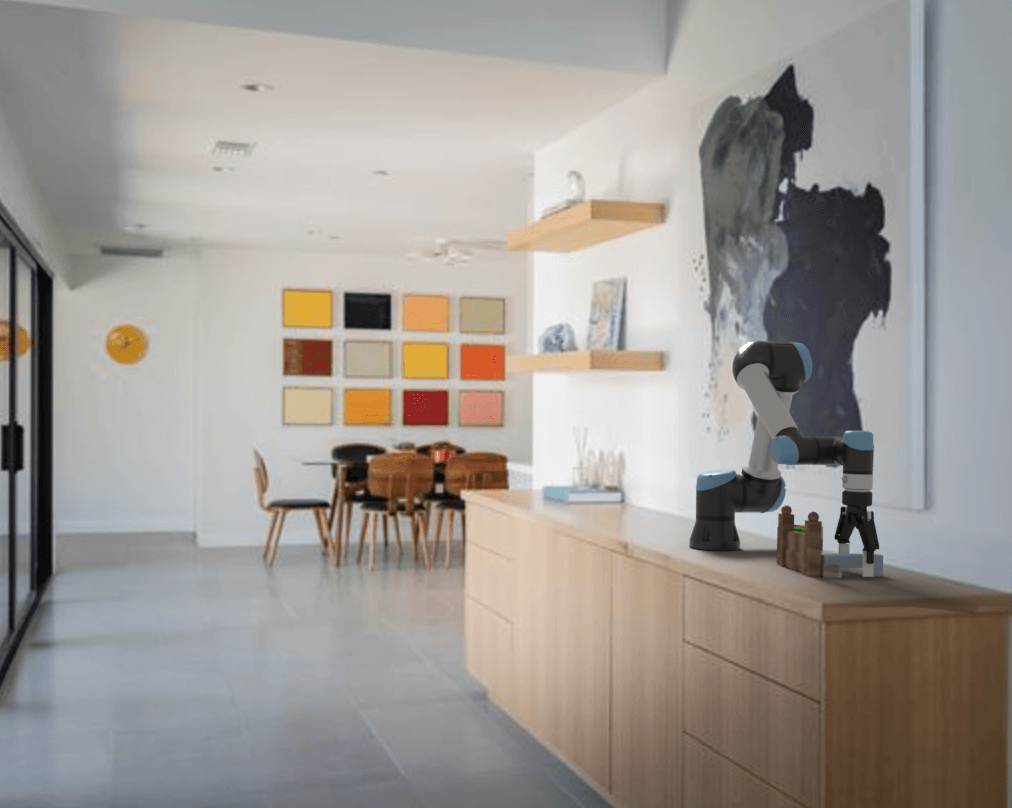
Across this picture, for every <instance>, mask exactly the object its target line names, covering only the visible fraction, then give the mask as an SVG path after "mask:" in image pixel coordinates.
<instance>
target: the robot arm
mask: <svg viewBox="0 0 1012 808" xmlns="http://www.w3.org/2000/svg"><path fill="white" fill-rule="evenodd" d="M812 360H813V359H812V356H811V353H810V351H809V349H808V348H807V346H806V345H804V344H803V343H802V342H801V343H800V342H794V341H789V340H788V341H775V340H773V341H768V340H767V341H766V340H765V341H764V340H752V341H750V342H747V343H746V344H744V345H743V346H741V347H740V348H739V350H737V352H736V354H735V355H734V358H733V361H732V370H731V371H732V376H733V378H734V380H735V382H736V384H737V386H738V387H739V389H741V390H742V391H745V393H746V395H747V396H748V399H749V400H750V401H751V404H752V406H753V407H754V409H755V411H756V413H757V415H758V416H757V420H756V425H755V430H754V436H753V439H752V440H753V441H752V445H751V450H750V454H749V461H748V462H745V464H743V466H742V468H741V473H740V474H739V473H737V471H736V470H735V469H732V468H731V469H715V470H708V471H702V472H701V473H699V474H698V475H697V477H696V485H695V522H694V526H693V529H692V531H691V534H690V536H689V541H688V542H689V543H688V544H689V547H690V548H692V549H697V550H705V551H736V550H737V551H738V550H740V549H741V539H740V536H739V533H738V529H737V525H736V513H739V514H740V513H741V514H742V513H751V514H752V513H753V514H755V513H757V514H758V513H759V514H764V513H772V512H776V511H777V510H779V509H780V507H781V506H782V505H783V503H784V500H785V497H786V489H787V488H786V486H787V485H786V481H785V479H784V478H783V476H782V472H781V471H780V470H779V468H778V466H779V465H786V466H811V465H812V466H841V467H842V477H841V481H842V488H843V489H844V490H843V491H841V503H842V505H843V506H840V510H839V518H838V522H837V525H836V529H835V533H834V540H836V542H837V543H838V554H850V548H851V546H850V544H851V541H850V538H851V536H852V534H853V532H854V529H857V530H858V533H859V536H860V539H861V542H862V546H863V548H862V554H863V564H862V568H861V570H862V571H861V572H862V574H861V577H865V578H866V577H868V578H870V577H872V578H873V577H875V576H874V554H875V551H877V550H879V549H880V543H879V538H878V534H877V533H878V532H877V527H876V522H875V516H874V515H875V512H874V511H873V510H871V511H870V510H869V511H868V507H871V506H872V505H873V493H872V490H873V488H874V487H873V486H874V484H873V483H874V474H873V473H874V472H873V471H874V453H875V452H874V451H875V445H874V444H875V443H874V433H873V432H872V431H869V430H845V431H844V432H843V436H837V435H836V436H835V435H833V436H832V435H828V436H808V435H807V436H804V434H803V433H802V431H801V430H800V429H799V427H798V426H797V424H796V422H795V420H794V419H793V416H792V415H791V413H790V409H791V405H792V400H793V395H795V394H797V393H798V392H799V391H800V389H801V384H803V383H806V382H807V381H809V380H810V378H811V376H812V372H813V361H812ZM840 569H842V570H843V569H844V570H845V569H849V570H850V568H839V570H840Z"/></svg>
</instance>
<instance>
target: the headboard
mask: <svg viewBox="0 0 1012 808" xmlns="http://www.w3.org/2000/svg"><path fill="white" fill-rule="evenodd" d="M780 510H781V511H780V512H781V513H780V512H779V513H778V514H777V515H778V516H777V518H778V519H777V525H778V526H777V527H778V557H777V556H776V564H777V566H779V565H780V566H779V567H785V566H786V568H788V569H791V570H794V571H796V572H799V573H802V574H803V575H805V576H806V577H821V539H822V527H823V525H822V524H823V521H822V520H819V519H820V515H819V513H818V512H816V511H810V512H809V513H808V515H807V519H806V520H804V525H805V533H801V532H798V531H794V525H795V514H793V513H792V511H793V510H792V507H791V506H790V505H783V506H782V507H781V509H780ZM842 573H843V572H842V571H840V569H839V566H838V565H823V576H822V578H825V579H827V578H830V579H833V578H835V579H838V578H842V577H843V575H842Z"/></svg>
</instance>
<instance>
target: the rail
mask: <svg viewBox="0 0 1012 808" xmlns="http://www.w3.org/2000/svg"><path fill="white" fill-rule="evenodd" d="M862 564H863V553H849V554H839V553H823V554H821V576H822V577H823V565H838V566H839V568H849V569H862ZM821 576H820V577H821ZM883 576H884V555H883V554H879V553H874V577H883Z"/></svg>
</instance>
